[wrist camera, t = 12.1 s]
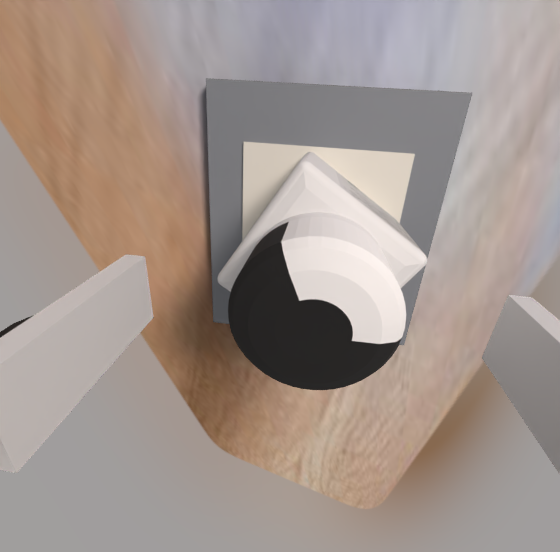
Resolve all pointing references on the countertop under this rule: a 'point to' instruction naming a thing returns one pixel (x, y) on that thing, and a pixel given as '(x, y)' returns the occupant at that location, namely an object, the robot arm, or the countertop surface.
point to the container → (320, 282)
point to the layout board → (328, 155)
